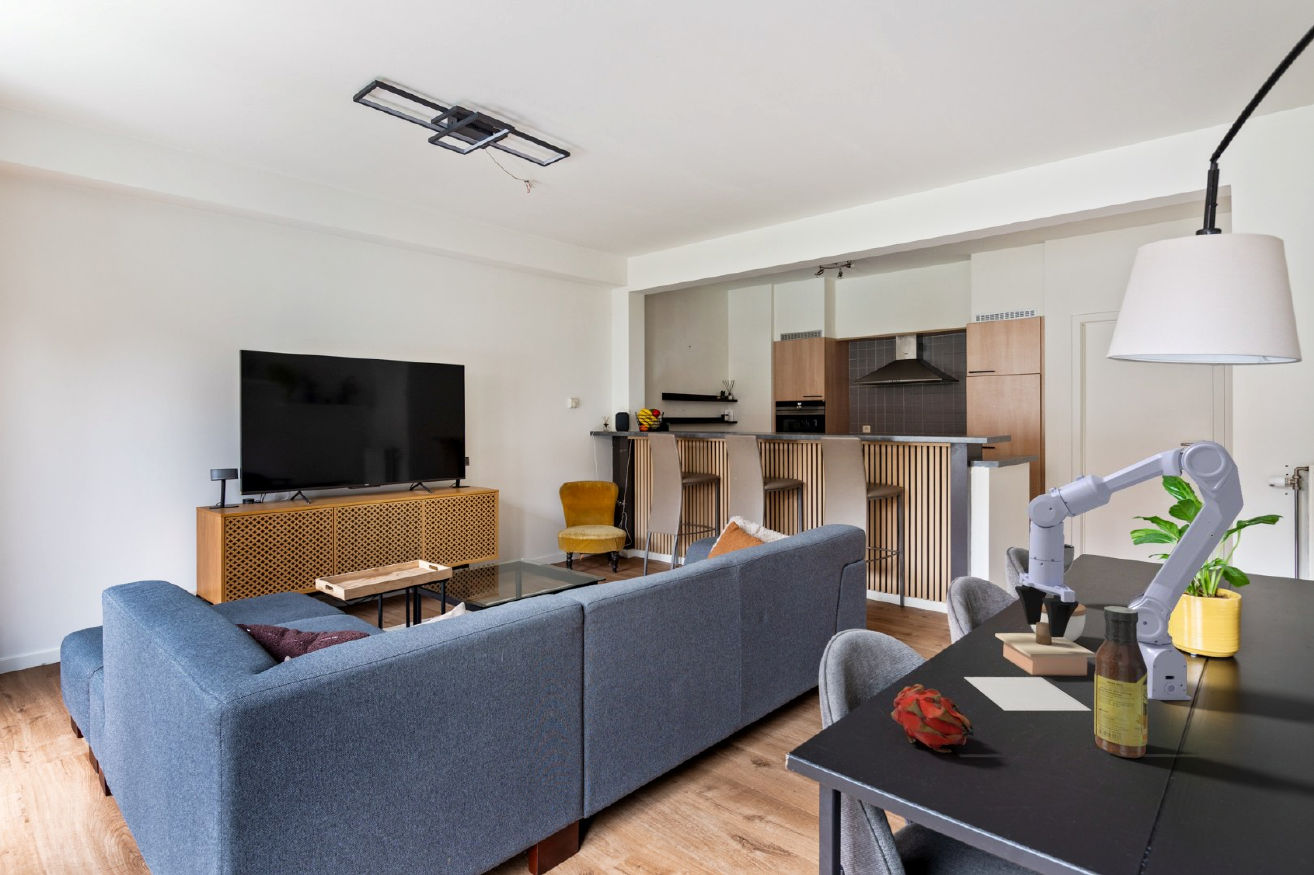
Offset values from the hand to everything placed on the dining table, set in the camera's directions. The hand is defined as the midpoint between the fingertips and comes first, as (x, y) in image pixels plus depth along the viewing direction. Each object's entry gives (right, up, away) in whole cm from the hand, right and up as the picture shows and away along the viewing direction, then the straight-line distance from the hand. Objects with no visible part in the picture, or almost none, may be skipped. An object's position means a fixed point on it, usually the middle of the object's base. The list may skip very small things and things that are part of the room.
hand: (1044, 630), depth 129 cm
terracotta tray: (0, -7, 0) cm, 7 cm away
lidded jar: (+12, -7, +16) cm, 21 cm away
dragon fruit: (-33, -8, -31) cm, 46 cm away
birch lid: (0, -3, 0) cm, 3 cm away
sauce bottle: (-7, -8, -32) cm, 34 cm away
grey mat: (-11, -7, -13) cm, 18 cm away
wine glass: (+28, -6, +45) cm, 54 cm away
